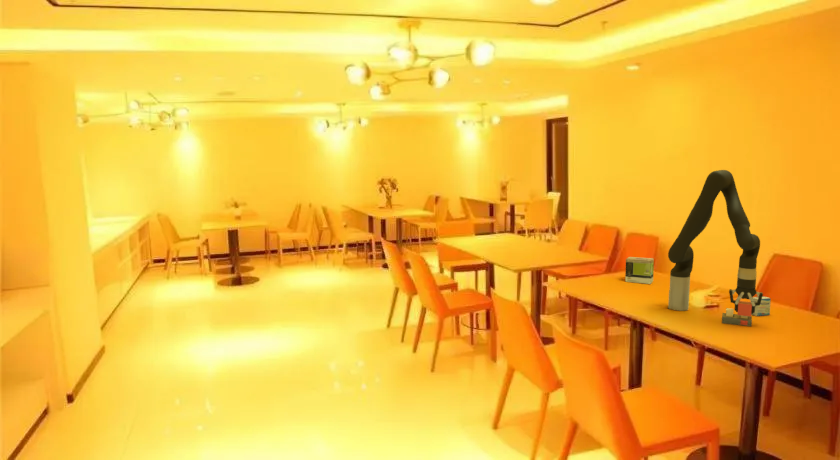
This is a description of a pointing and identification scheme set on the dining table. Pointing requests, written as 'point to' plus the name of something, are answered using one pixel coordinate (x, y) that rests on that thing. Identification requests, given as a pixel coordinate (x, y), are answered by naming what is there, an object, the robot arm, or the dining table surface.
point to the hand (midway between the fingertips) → (744, 312)
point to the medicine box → (762, 307)
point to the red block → (744, 308)
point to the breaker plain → (729, 312)
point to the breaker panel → (736, 320)
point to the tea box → (639, 270)
